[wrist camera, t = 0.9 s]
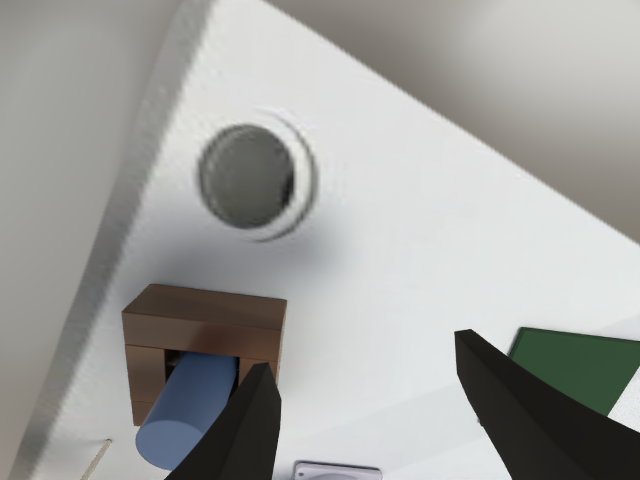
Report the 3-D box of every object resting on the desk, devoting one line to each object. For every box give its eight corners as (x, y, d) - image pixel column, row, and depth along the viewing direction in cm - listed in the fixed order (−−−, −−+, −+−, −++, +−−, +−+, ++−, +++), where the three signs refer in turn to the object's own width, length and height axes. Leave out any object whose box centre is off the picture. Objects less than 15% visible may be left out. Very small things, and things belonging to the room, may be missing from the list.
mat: (589, 434, 28) (593, 438, 27) (479, 422, 27) (481, 426, 27) (648, 342, 24) (653, 345, 24) (522, 327, 24) (524, 330, 23)
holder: (275, 400, 26) (269, 439, 23) (156, 387, 26) (133, 426, 23) (287, 299, 23) (281, 330, 20) (149, 283, 22) (120, 311, 19)
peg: (242, 369, 25) (209, 475, 18) (192, 363, 25) (137, 468, 18) (245, 328, 24) (210, 424, 16) (191, 321, 24) (131, 416, 16)
